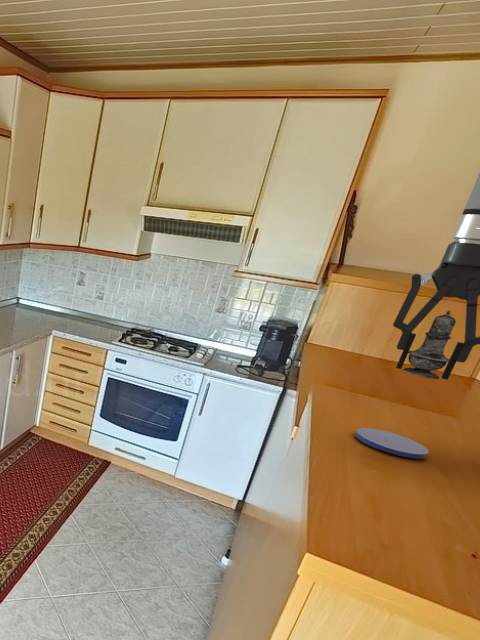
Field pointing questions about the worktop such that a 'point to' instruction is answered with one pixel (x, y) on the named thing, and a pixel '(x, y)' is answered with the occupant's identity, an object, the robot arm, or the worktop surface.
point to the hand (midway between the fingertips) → (421, 372)
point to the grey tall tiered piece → (432, 348)
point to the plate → (392, 443)
